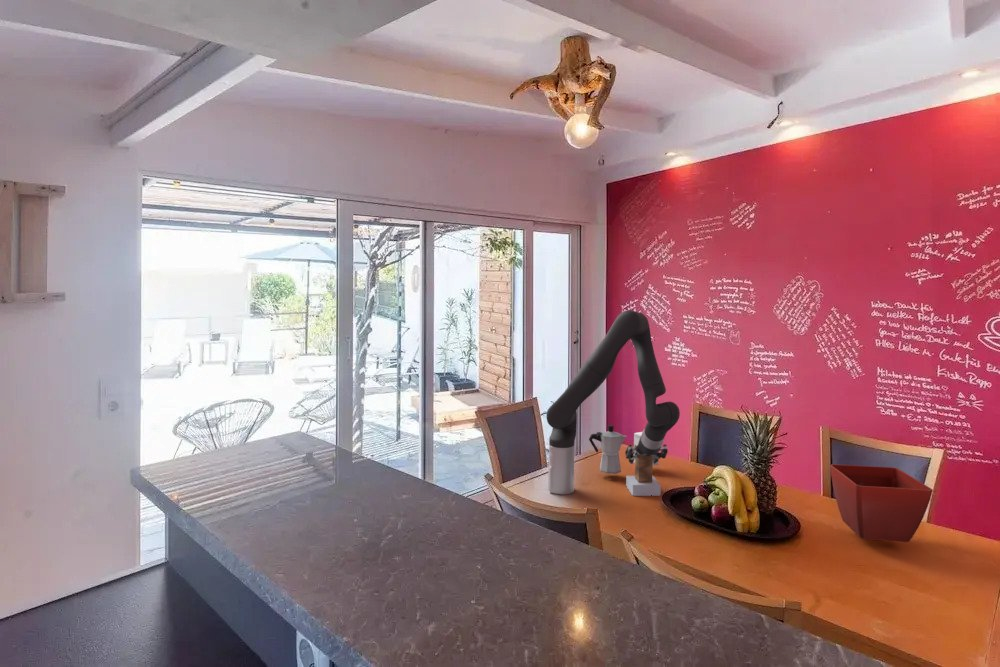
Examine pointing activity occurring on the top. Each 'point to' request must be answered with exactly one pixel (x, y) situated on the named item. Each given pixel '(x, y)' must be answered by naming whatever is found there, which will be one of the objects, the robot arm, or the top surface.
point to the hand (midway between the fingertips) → (642, 461)
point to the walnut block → (644, 469)
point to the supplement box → (636, 441)
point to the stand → (643, 487)
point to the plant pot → (880, 501)
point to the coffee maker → (609, 449)
